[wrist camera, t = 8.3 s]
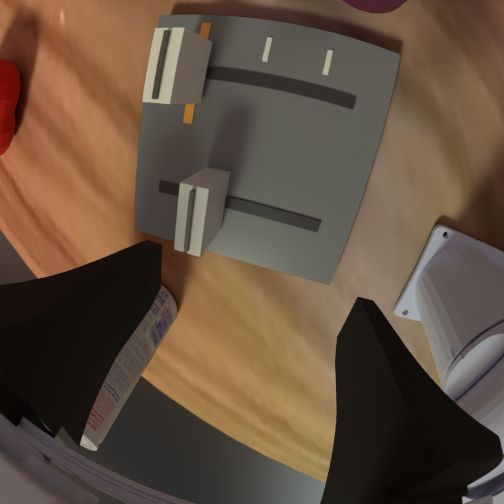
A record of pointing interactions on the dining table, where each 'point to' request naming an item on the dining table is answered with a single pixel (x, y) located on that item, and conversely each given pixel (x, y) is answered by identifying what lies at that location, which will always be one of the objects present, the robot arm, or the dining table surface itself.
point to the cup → (376, 5)
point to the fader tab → (176, 67)
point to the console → (266, 145)
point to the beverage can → (129, 368)
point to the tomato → (8, 102)
